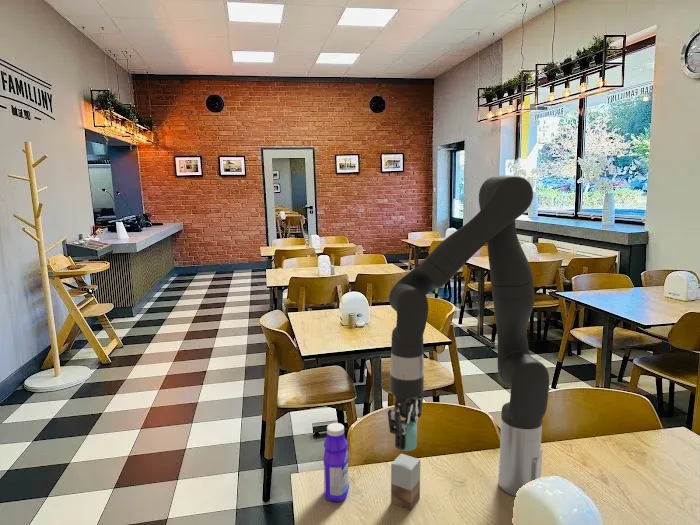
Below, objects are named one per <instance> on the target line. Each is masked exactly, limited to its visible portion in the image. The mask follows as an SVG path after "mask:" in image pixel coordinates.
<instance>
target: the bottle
mask: <svg viewBox="0 0 700 525" xmlns="http://www.w3.org/2000/svg"><path fill="white" fill-rule="evenodd" d="M348 446H349V442H348V441H347V438H346V435H345V426H344V425H343V424H342V423H340V422H334V423H330V424H328V425H327V426H326V439H325V441H324V443H323V447H324V453H323V483H324V484H323V486H324V488H323V493H324V497H325V498H326V499H327V500H328V501H330V502H336V503H337V502H343V501H344V500H345V499H346V498H347V497H348V494H349V490H350V483H349V482H350V480H349V477H350V476H349V456H350V455H349V450H348Z"/></svg>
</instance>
